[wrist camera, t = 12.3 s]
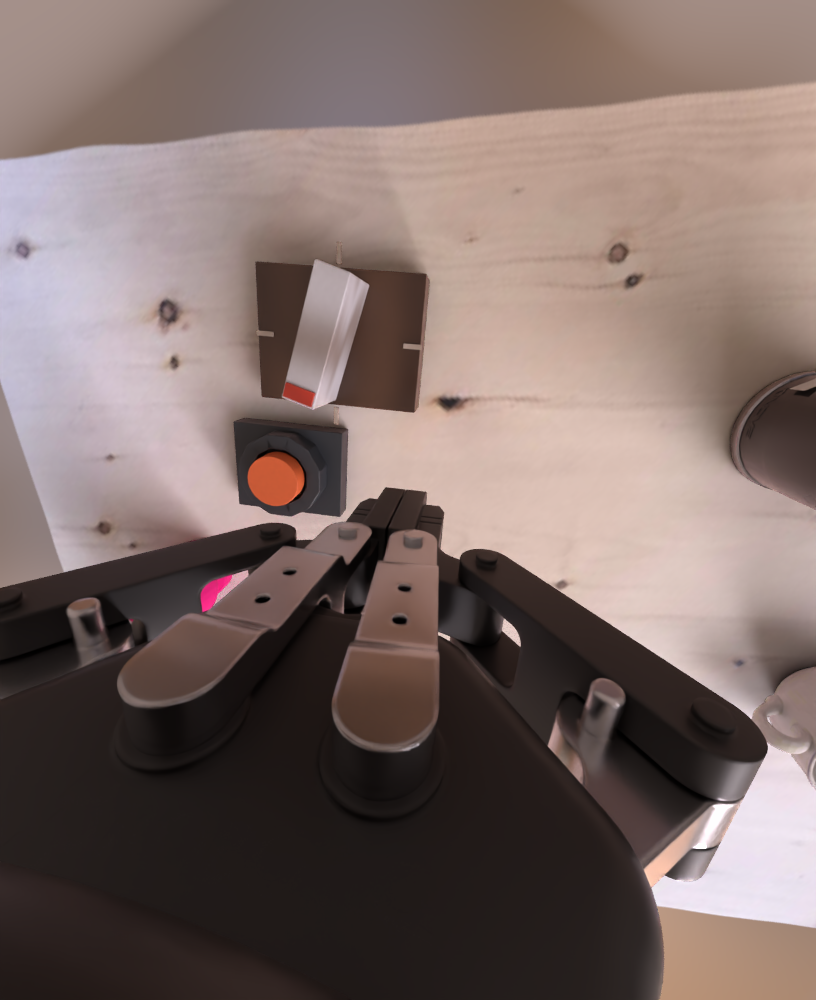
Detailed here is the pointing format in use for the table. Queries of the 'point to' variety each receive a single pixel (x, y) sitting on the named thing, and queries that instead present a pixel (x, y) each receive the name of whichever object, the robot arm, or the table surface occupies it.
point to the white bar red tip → (324, 335)
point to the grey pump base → (311, 448)
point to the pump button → (276, 478)
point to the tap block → (377, 342)
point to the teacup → (792, 719)
